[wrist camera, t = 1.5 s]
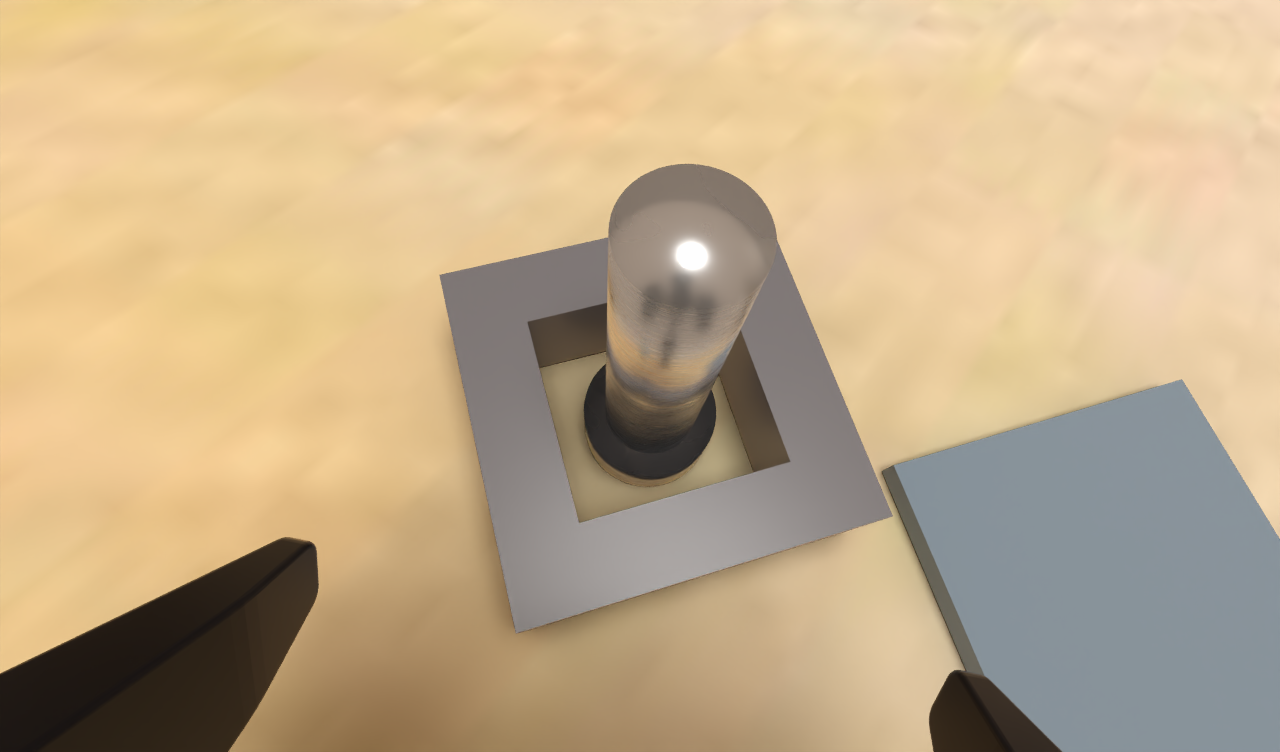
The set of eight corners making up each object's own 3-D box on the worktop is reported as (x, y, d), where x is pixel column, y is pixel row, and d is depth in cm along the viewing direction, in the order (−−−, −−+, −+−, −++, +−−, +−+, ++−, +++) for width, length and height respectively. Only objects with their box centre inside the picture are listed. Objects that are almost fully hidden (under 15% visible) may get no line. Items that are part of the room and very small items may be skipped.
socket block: (843, 532, 22) (892, 515, 18) (531, 629, 20) (516, 633, 17) (738, 263, 25) (761, 203, 22) (464, 327, 24) (439, 274, 20)
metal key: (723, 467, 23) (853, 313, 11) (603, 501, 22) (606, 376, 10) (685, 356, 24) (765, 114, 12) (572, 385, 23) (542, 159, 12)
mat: (1358, 721, 21) (1394, 726, 20) (1043, 852, 19) (1066, 864, 18) (1160, 388, 25) (1182, 379, 24) (881, 471, 23) (893, 465, 22)
